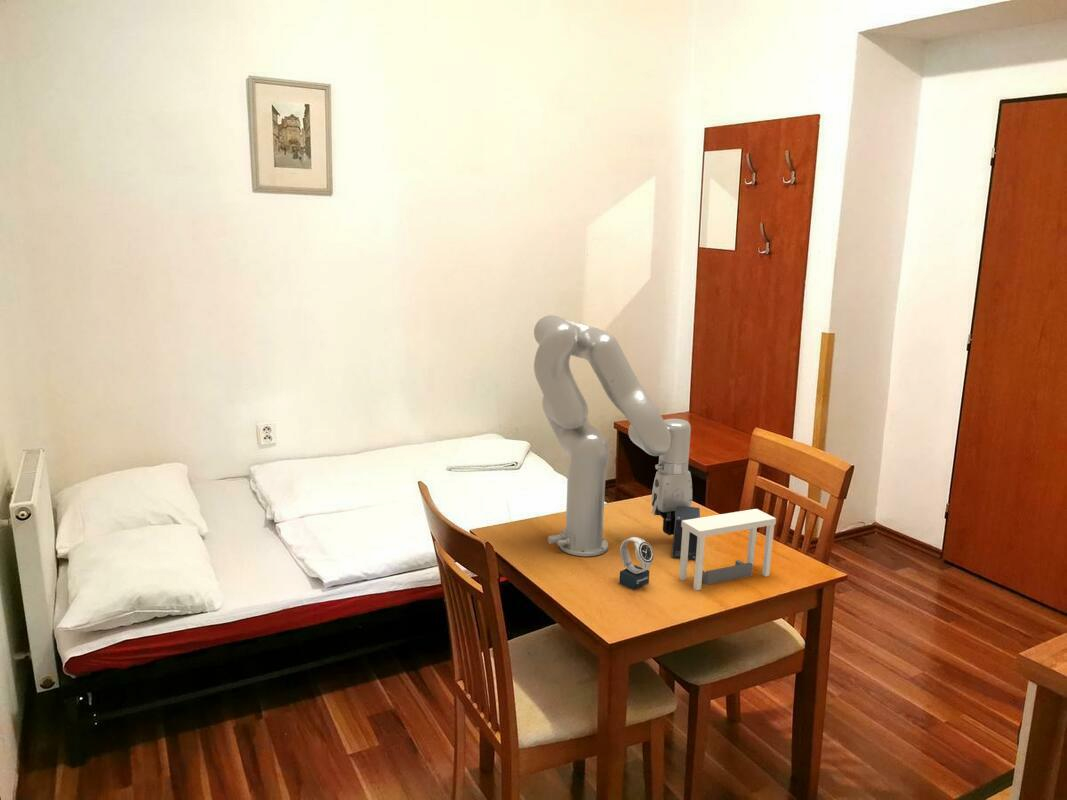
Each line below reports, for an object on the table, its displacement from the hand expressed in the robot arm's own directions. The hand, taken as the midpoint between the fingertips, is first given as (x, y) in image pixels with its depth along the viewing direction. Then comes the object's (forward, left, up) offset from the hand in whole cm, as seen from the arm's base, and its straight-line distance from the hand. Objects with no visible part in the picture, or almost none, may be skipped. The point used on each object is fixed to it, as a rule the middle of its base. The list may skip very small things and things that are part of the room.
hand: (668, 533), depth 212 cm
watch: (-22, -18, -2) cm, 29 cm away
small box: (0, -7, -2) cm, 8 cm away
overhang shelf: (0, -23, -2) cm, 24 cm away
